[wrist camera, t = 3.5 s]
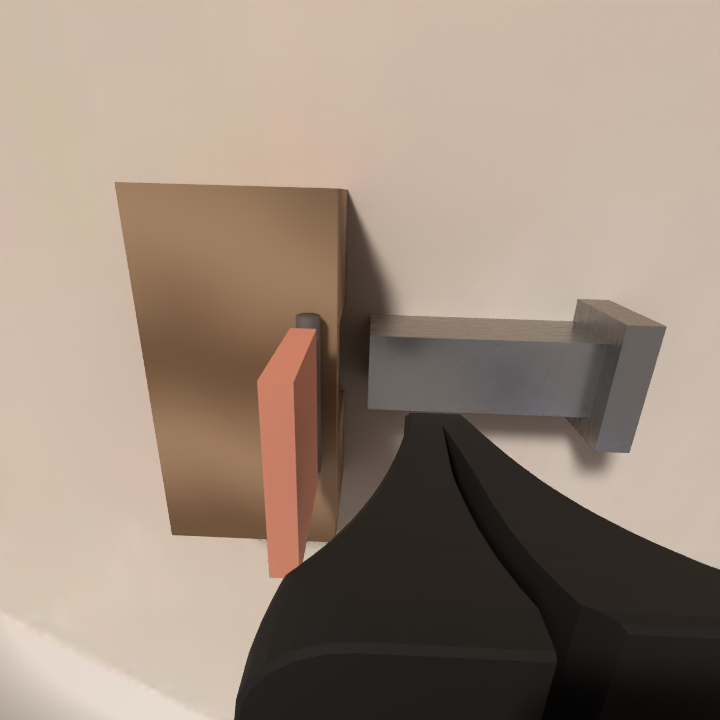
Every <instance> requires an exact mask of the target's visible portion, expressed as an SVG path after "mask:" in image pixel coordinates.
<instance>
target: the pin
mask: <svg viewBox="0 0 720 720" xmlns="http://www.w3.org/2000/svg"><path fill="white" fill-rule="evenodd" d="M665 330H666V326H664V325H662V324H660V323H658V322H655V321H653V320H651V319H649V318H647V317H645V316H642V315H640V314H638V313H636V312H634V311H632V310H629V309H627V308H625V307H623V306H621V305H619V304H616V303H614V302H612V301H610V300H590V299H578V301H577V305H576V310H575V315H574V320H573V321H545V320H516V319H487V318H458V317H429V316H400V315H371V322H370V349H369V375H368V407H367V409H377V410H403V411H429V412H455V413H481V414H507V415H533V416H558V417H566V418H567V420H568V421H569V422H570V423H571V424H572V425H573V427H574V428H575V429H576V430H577V431H578V433H579V434H580V435H581V436H582V437H583V438H584V440H585V441H586V442H587V443H588V444H589V445H590V447H591V448H592V449H593V450H594V451H595V452H619V453H629V452H630V449H631V445H632V442H633V439H634V435H635V432H636V428H637V425H638V422H639V418H640V415H641V412H642V408H643V405H644V401H645V398H646V395H647V391H648V388H649V384H650V381H651V378H652V374H653V371H654V367H655V364H656V361H657V357H658V354H659V351H660V347H661V344H662V340H663V337H664V334H665Z"/></svg>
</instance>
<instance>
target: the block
mask: <svg viewBox="0 0 720 720" xmlns="http://www.w3.org/2000/svg"><path fill="white" fill-rule="evenodd" d="M115 188H116V194H117V200H118V207H119V213H120V219H121V225H122V231H123V237H124V243H125V249H126V255H127V262H128V268H129V274H130V280H131V286H132V292H133V298H134V304H135V311H136V317H137V323H138V329H139V335H140V341H141V347H142V353H143V359H144V366H145V372H146V378H147V384H148V390H149V396H150V402H151V408H152V415H153V421H154V427H155V433H156V439H157V445H158V451H159V457H160V464H161V470H162V476H163V482H164V488H165V494H166V500H167V506H168V512H169V519H170V525H171V531H172V535H185V536H207V537H230V538H252V539H267V531H266V515H265V499H264V484H263V468H262V452H261V436H260V421H259V405H258V389H257V380H258V379H259V377H260V375H261V374H262V372H263V371H264V369H265V367H266V366H267V364H268V363H269V361H270V359H271V358H272V356H273V355H274V353H275V351H276V350H277V348H278V347H279V345H280V343H281V342H282V340H283V339H284V337H285V335H286V334H287V332H288V331H289V329H290V328H304V329H316V353H317V460H318V486H317V491H316V496H315V501H314V506H313V511H312V517H311V522H310V527H309V532H308V537H307V541H319V542H329V541H331V540H332V539H333V538H334V537H335V536H336V530H337V521H338V512H339V503H340V494H341V485H342V476H343V451H344V391H339V323H340V319H341V316H342V312H343V308H344V304H345V301H346V263H347V200H348V190H344V189H329V188H295V187H261V186H227V185H193V184H158V183H124V182H115Z"/></svg>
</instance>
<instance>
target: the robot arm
mask: <svg viewBox="0 0 720 720" xmlns="http://www.w3.org/2000/svg"><path fill="white" fill-rule="evenodd" d="M234 720H720V570H719V569H716V568H713V567H711V566H708V565H705V564H703V563H700V562H698V561H695V560H693V559H691V558H688V557H686V556H684V555H681V554H679V553H677V552H674V551H672V550H670V549H667V548H665V547H663V546H660V545H658V544H656V543H653V542H651V541H649V540H647V539H645V538H643V537H641V536H638V535H636V534H634V533H632V532H630V531H628V530H626V529H624V528H622V527H620V526H618V525H616V524H614V523H612V522H610V521H608V520H606V519H605V518H603V517H601V516H599V515H597V514H595V513H593V512H591V511H590V510H588V509H586V508H584V507H582V506H581V505H579V504H577V503H576V502H574V501H573V500H571V499H569V498H568V497H566V496H564V495H563V494H561V493H560V492H558V491H556V490H555V489H553V488H552V487H550V486H549V485H547V484H546V483H544V482H543V481H541V480H540V479H538V478H537V477H536V476H534V475H533V474H531V473H530V472H529V471H527V470H526V469H525V468H523V467H522V466H521V465H519V464H518V463H517V462H515V461H514V460H513V459H512V458H510V457H509V456H508V455H507V454H505V453H504V452H503V451H502V450H500V449H499V448H498V447H497V446H496V445H495V444H493V443H492V442H491V441H490V440H489V439H488V438H486V437H485V436H484V435H483V434H482V433H481V432H480V431H478V430H477V429H476V428H475V427H474V426H473V425H472V424H471V423H469V422H468V421H467V420H466V419H465V418H463V417H462V416H461V415H455V414H430V413H409V414H408V415H407V416H406V417H405V428H404V437H403V440H402V443H401V445H400V448H399V451H398V453H397V455H396V457H395V459H394V461H393V463H392V465H391V467H390V469H389V471H388V473H387V474H386V476H385V478H384V479H383V481H382V482H381V484H380V486H379V487H378V488H377V490H376V491H375V493H374V494H373V496H372V497H371V498H370V499H369V501H368V502H367V503H366V504H365V506H364V507H363V508H362V509H361V510H360V512H359V513H358V514H357V515H356V516H355V517H354V518H353V519H352V520H351V522H350V523H349V524H348V525H346V526H345V527H344V528H343V529H342V530H341V531H340V532H339V533H338V534H337V535H336V536H335V537H334V538H333V539H332V540H331V541H329V542H328V543H327V544H326V545H325V546H324V547H323V548H321V549H320V550H319V551H318V552H316V553H315V554H314V555H312V556H311V557H310V558H308V559H307V560H306V561H304V562H303V563H302V564H300V565H299V566H298V567H296V568H295V569H293V570H292V571H290V572H289V573H288V574H286V575H285V577H284V579H283V580H282V582H281V584H280V586H279V588H278V590H277V591H276V593H275V595H274V597H273V599H272V601H271V603H270V605H269V607H268V609H267V611H266V613H265V615H264V617H263V619H262V622H261V624H260V627H259V629H258V631H257V634H256V636H255V639H254V641H253V644H252V647H251V649H250V652H249V655H248V658H247V662H246V665H245V669H244V673H243V676H242V680H241V684H240V687H239V691H238V695H237V698H236V706H235V718H234Z"/></svg>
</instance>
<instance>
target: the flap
mask: <svg viewBox="0 0 720 720" xmlns="http://www.w3.org/2000/svg"><path fill="white" fill-rule="evenodd" d="M257 389H258V405H259V421H260V436H261V452H262V468H263V484H264V499H265V515H266V531H267V546H268V562H269V577H271V578H284V577H285V575H286V574H288V573H289V572H290V571H292V570H293V569H295V568H296V567H298V566H299V565H300V564H302V563H303V558H304V553H305V547H306V542H307V537H308V532H309V527H310V522H311V517H312V511H313V506H314V501H315V496H316V491H317V486H318V460H317V353H316V329H304V328H290V329H289V331H288V332H287V334H286V335H285V337H284V339H283V340H282V342H281V343H280V345H279V347H278V348H277V350H276V351H275V353H274V355H273V356H272V358H271V359H270V361H269V363H268V364H267V366H266V367H265V369H264V371H263V372H262V374H261V375H260V377H259V379H258V380H257Z"/></svg>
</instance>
